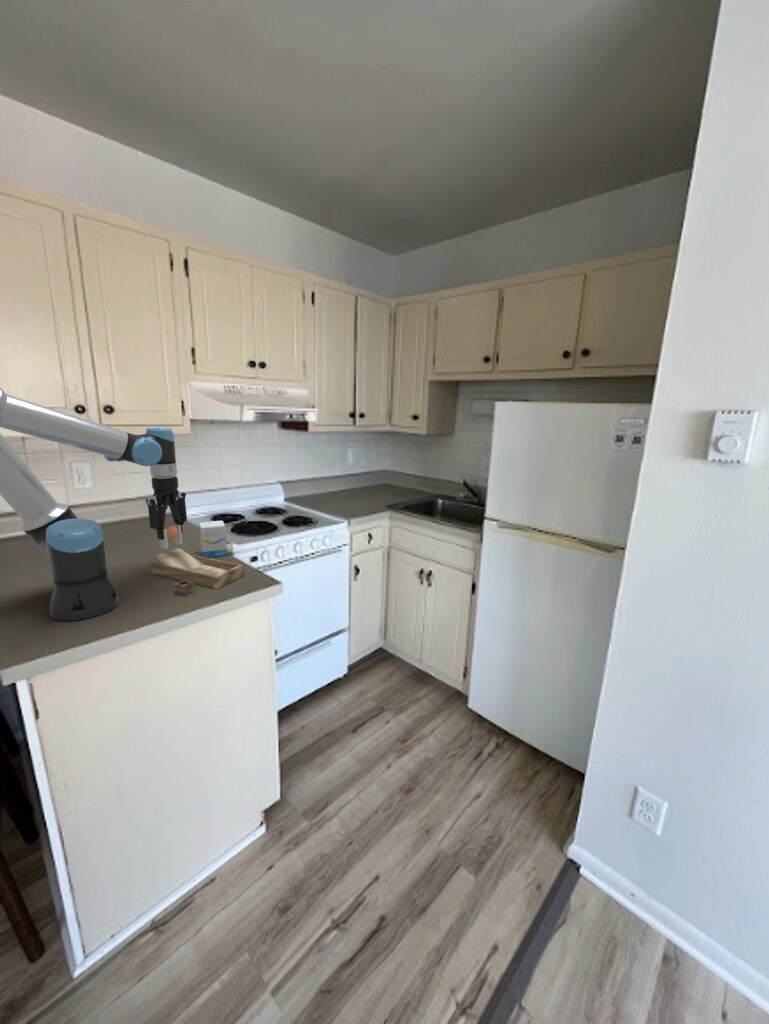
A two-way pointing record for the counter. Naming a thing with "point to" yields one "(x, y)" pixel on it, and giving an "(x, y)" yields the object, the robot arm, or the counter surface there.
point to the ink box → (213, 539)
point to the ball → (172, 532)
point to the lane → (196, 568)
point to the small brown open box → (184, 587)
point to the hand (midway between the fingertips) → (171, 545)
